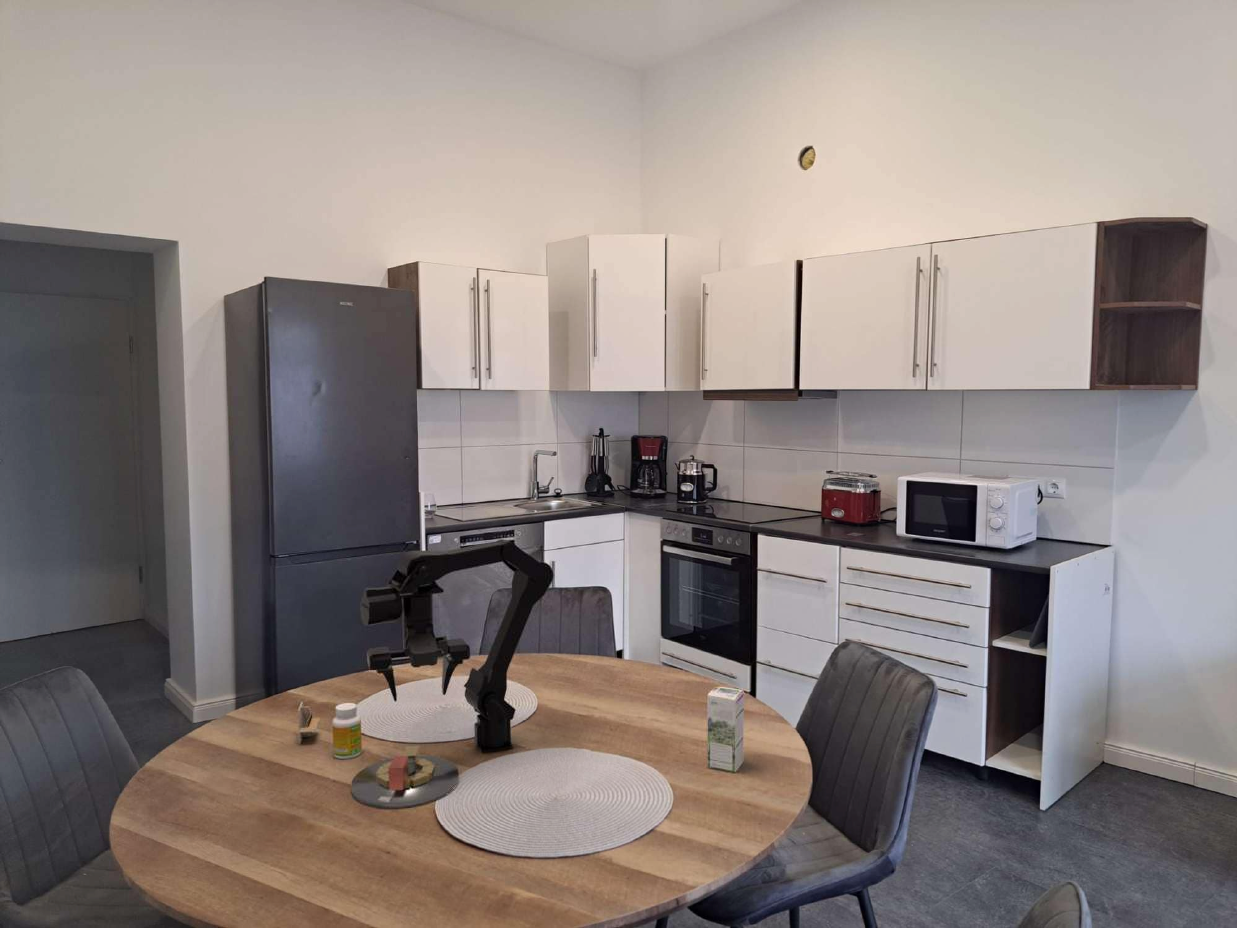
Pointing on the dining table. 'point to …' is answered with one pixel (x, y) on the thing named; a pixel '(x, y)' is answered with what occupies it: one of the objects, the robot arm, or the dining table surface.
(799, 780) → the dining table surface
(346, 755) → the supplement bottle
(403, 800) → the cap plate
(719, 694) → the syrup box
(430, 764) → the colourful block cluster
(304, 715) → the architectural model
